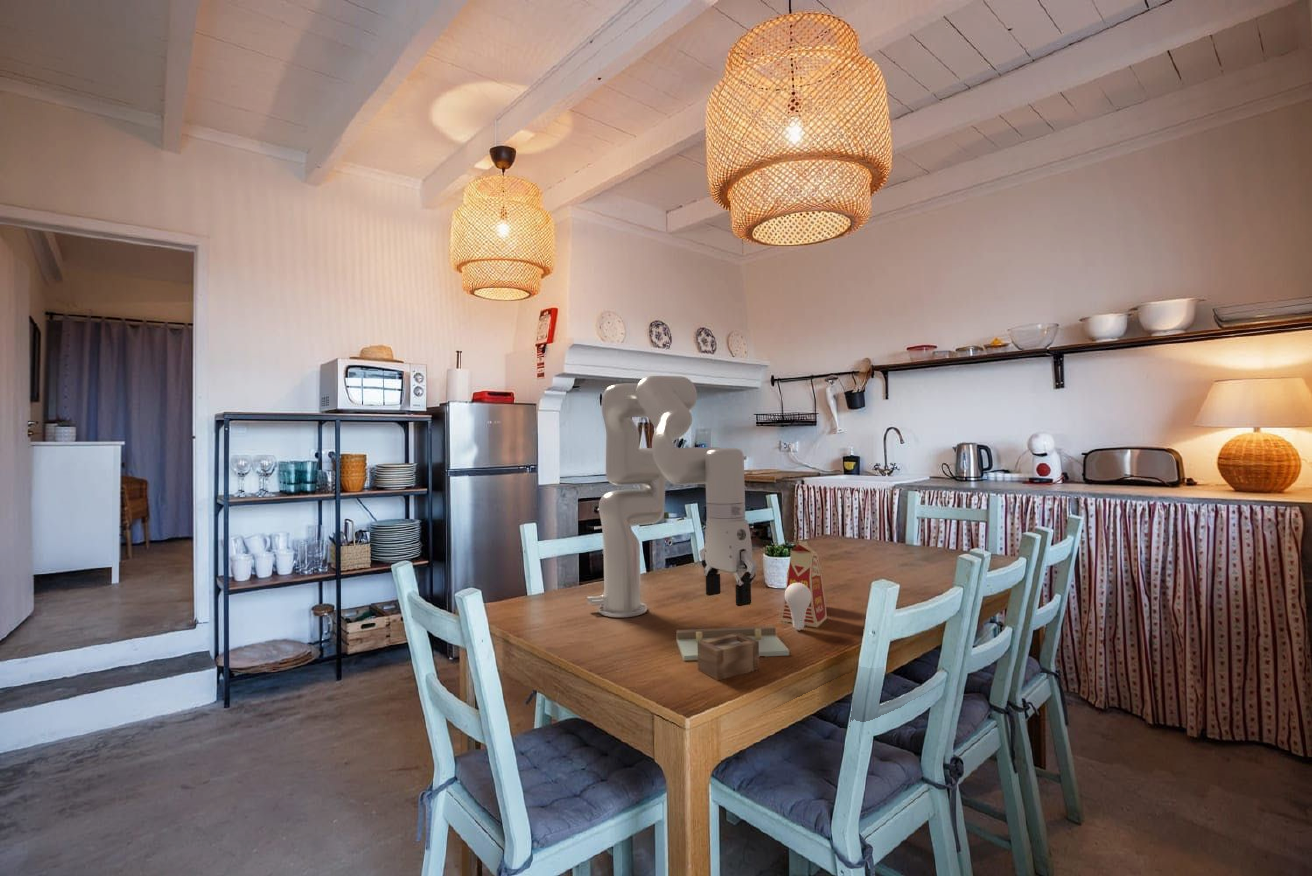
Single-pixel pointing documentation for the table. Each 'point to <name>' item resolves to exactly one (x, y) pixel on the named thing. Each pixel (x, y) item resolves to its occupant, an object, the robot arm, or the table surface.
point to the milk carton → (809, 574)
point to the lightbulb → (798, 603)
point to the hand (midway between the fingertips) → (727, 599)
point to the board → (764, 647)
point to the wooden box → (728, 656)
